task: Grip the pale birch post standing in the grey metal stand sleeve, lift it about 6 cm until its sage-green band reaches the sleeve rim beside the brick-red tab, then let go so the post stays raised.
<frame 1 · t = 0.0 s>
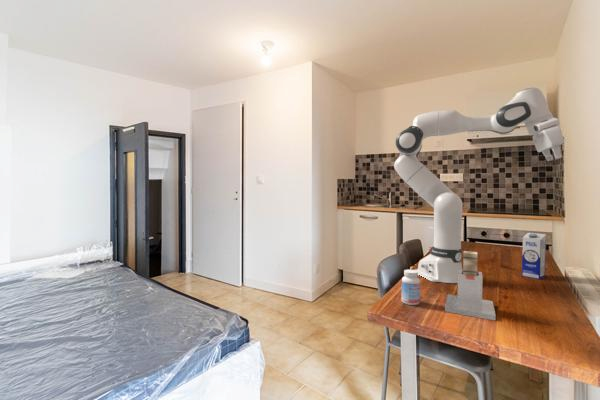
hand: (554, 159, 118), 52 cm above the table, tool tilted 20°, fingers open, 8 cm apart
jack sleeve: (469, 308, 101), on the table
post: (469, 277, 101), point 11 cm above the table, slide at 0.0 cm
milk carton: (533, 276, 139), on the table
pill bottle: (410, 303, 107), on the table
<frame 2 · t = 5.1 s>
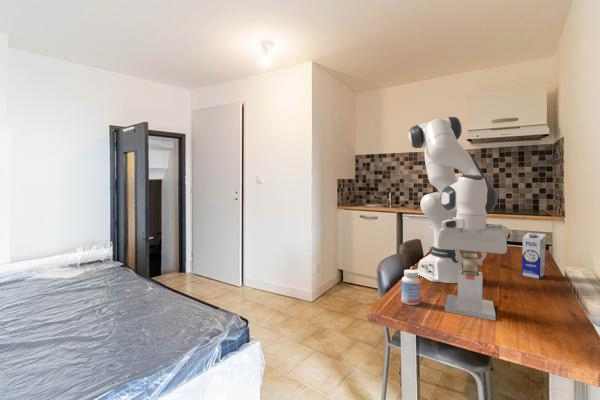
hand: (470, 264, 101), 15 cm above the table, tool pointing down, fingers closed on post, 4 cm apart
post: (469, 277, 101), point 10 cm above the table, slide at 0.0 cm, touching gripper
everything else where it was.
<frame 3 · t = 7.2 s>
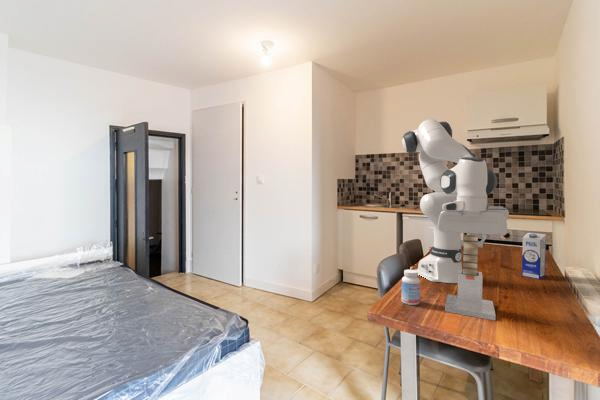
hand: (470, 246, 101), 21 cm above the table, tool pointing down, fingers closed on post, 4 cm apart
post: (470, 261, 101), point 16 cm above the table, slide at 5.6 cm, touching gripper
everything else where it was.
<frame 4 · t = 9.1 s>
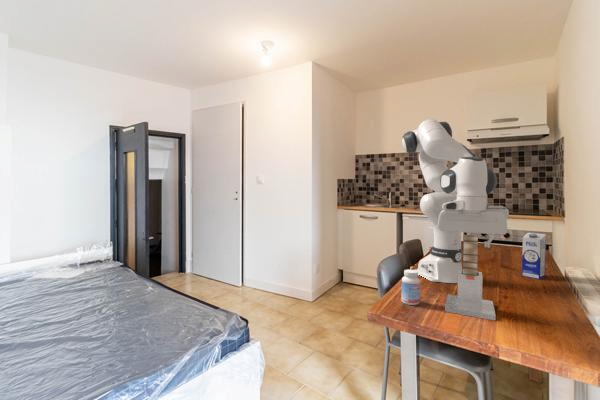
hand: (470, 246, 101), 21 cm above the table, tool pointing down, fingers open, 8 cm apart
post: (470, 261, 101), point 16 cm above the table, slide at 5.6 cm
everything else where it was.
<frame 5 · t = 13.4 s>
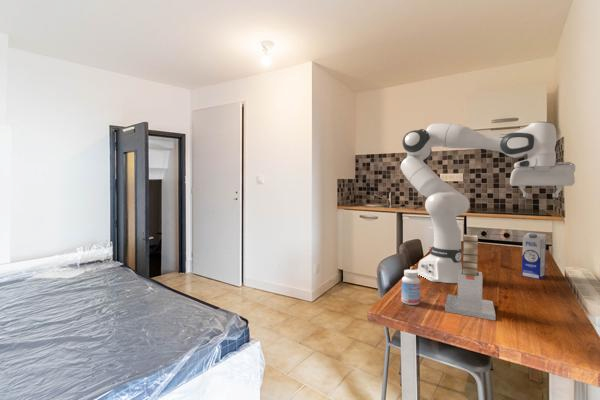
hand: (540, 197, 120), 37 cm above the table, tool pointing down, fingers open, 8 cm apart
nothing on the table moved.
at the end: post slide at 5.6 cm; the gripper is holding nothing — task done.
